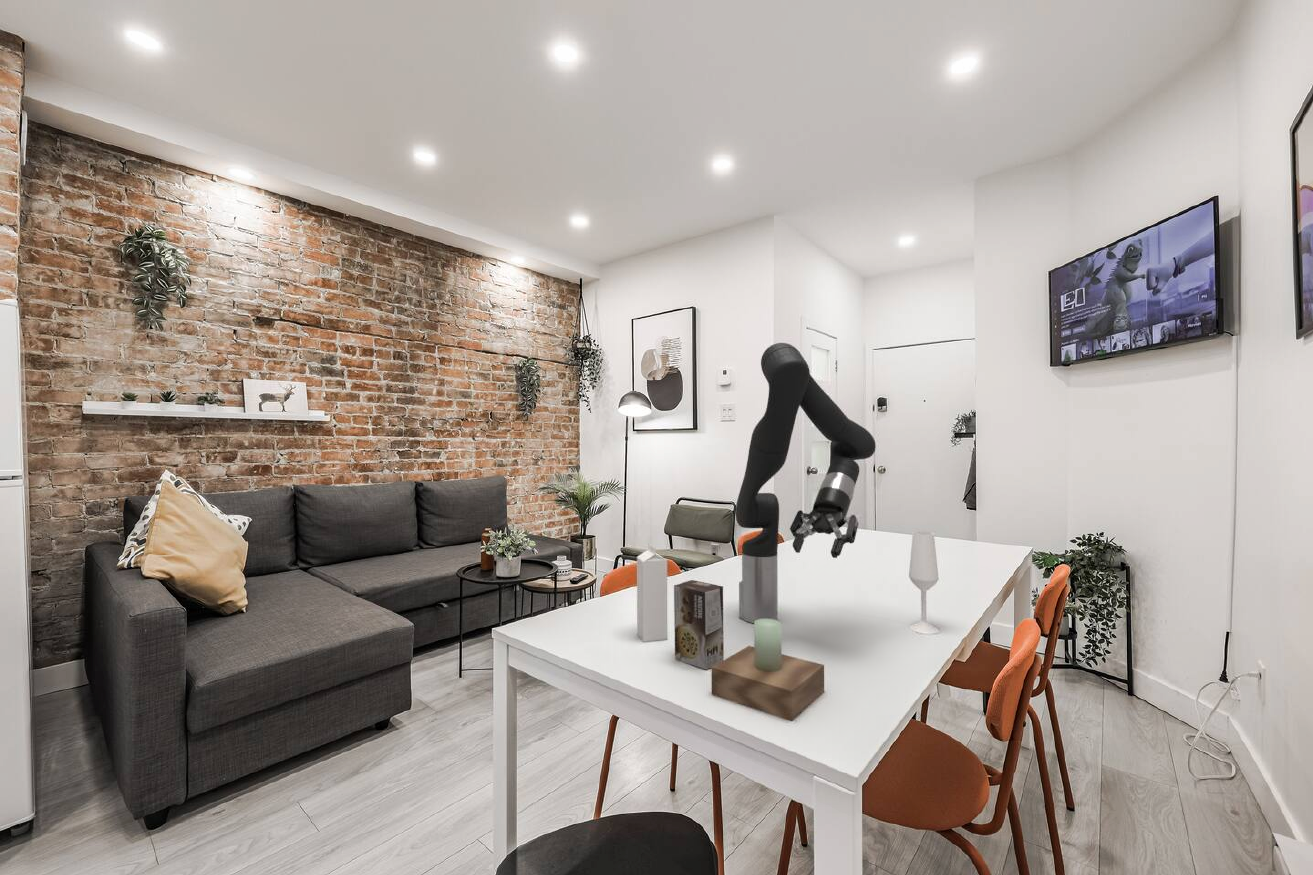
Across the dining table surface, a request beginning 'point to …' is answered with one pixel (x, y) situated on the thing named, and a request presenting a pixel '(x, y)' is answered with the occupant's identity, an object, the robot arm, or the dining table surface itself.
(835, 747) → the dining table surface
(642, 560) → the milk
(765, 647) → the sage cylinder
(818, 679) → the walnut base
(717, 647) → the coffee box
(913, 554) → the champagne flute
